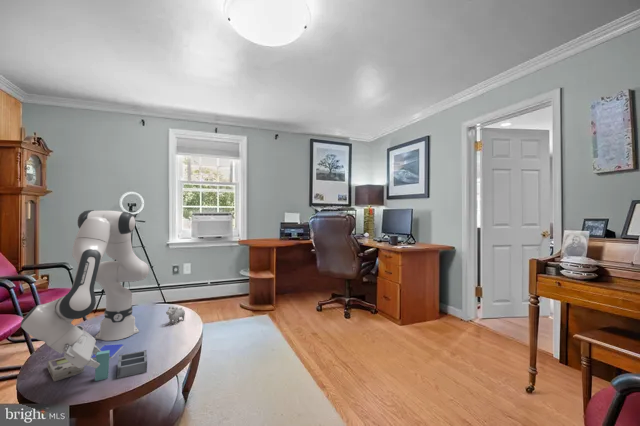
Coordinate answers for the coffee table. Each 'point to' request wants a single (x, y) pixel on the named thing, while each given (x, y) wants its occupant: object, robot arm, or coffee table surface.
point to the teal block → (102, 365)
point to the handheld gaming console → (62, 369)
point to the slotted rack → (132, 364)
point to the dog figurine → (175, 314)
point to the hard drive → (112, 348)
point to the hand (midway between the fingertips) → (99, 360)
